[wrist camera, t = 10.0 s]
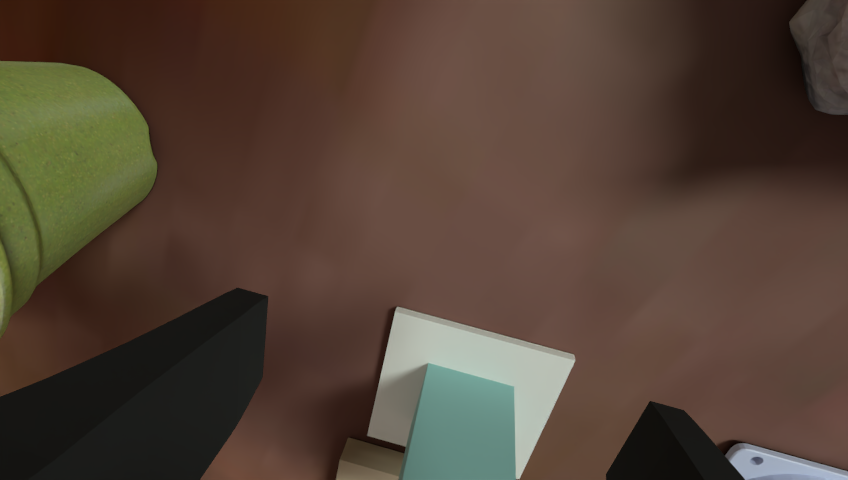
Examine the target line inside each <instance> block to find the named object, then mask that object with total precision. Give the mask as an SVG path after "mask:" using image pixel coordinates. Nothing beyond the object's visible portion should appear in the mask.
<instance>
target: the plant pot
mask: <svg viewBox="0 0 848 480" xmlns="http://www.w3.org/2000/svg"><path fill="white" fill-rule="evenodd" d="M156 174H157V162H156V160H155V158H154V156H153V153H152V149H151V145H150V138H149V128H148V125H147V123H146V121H145V119H144V118H143V116H142V114H141V113H140V111H139V110H138V109H137V107H136V106H135V104H134V103H133V102H132V101H131V100H130V99H129V98H128V97H127V95H126V94H125V93H124V92H123V91H122V90H121V89H119V88H118V87H117V86H116V85H115V84H113V83H112V82H111V81H109V80H108V79H107V78H105V77H103V76H102V75H100V74H98V73H96V72H94V71H92V70H90V69H87V68H84V67H80V66H75V65H69V64H63V63H47V62H13V61H0V338H1V337H2V336H3V334H4V332H5V330H6V328H7V326H8V323H9V321H10V317H11V316H12V315H13V314H14V313H15V312H16V311H18V310H19V309H20V308H21V307H22V306H23V305H24V304H25V303H26V302H27V301H28V300H29V298H30V297H31V295H32V293H33V291H34V290H35V288H36V286H37V285H38V284H40V283H41V282H42V281H43V280H44V279H45V278H47V277H48V276H49V275H50V274H51V273H53V272H54V271H55V270H56V269H57V268H59V267H60V266H61V265H62V264H63V263H65V262H66V261H67V260H68V259H69V258H70V257H72V256H73V255H74V254H75V253H77V252H78V251H79V250H80V249H82V248H83V247H84V246H85V245H86V244H88V243H89V242H90V241H91V240H93V239H94V238H95V237H96V236H98V235H99V234H100V233H101V232H103V231H104V230H105V229H106V228H108V227H109V226H110V225H112V224H113V223H114V222H116V221H117V220H118V219H119V218H121V217H122V216H123V215H124V214H126V213H127V212H128V211H129V210H131V209H132V208H133V207H134V206H136V205H137V204H138V203H140V202H141V201H142V200H143V199H144V198H145V197H146V196H147V195H148V193H149V192H150V190H151V188H152V187H153V184H154V182H155V178H156Z"/></svg>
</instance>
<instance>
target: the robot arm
mask: <svg viewBox="0 0 848 480" xmlns="http://www.w3.org/2000/svg"><path fill="white" fill-rule="evenodd" d="M267 306H268V296H265V295H262V294H258V293H255V292H251V291H247V290H244V289H240V288H236V289H234V290H232V291H229V292H227V293H225V294H223V295H221V296H219V297H217V298H215V299H213V300H211V301H209V302H207V303H205V304H203V305H201V306H200V307H198V308H196V309H194V310H192V311H190V312H188V313H186V314H184V315H182V316H180V317H178V318H176V319H174V320H172V321H170V322H168V323H166V324H164V325H162V326H160V327H158V328H156V329H154V330H152V331H150V332H148V333H146V334H144V335H141V336H139V337H137V338H135V339H133V340H131V341H129V342H127V343H125V344H123V345H121V346H118V347H116V348H114V349H112V350H110V351H107V352H105V353H103V354H101V355H98V356H96V357H94V358H92V359H89V360H87V361H85V362H83V363H80V364H78V365H76V366H74V367H71V368H69V369H67V370H65V371H62V372H60V373H58V374H56V375H53V376H51V377H49V378H46V379H44V380H41V381H39V382H37V383H34V384H32V385H29V386H27V387H24V388H22V389H19V390H17V391H14V392H11V393H9V394H6V395H4V396H1V397H0V480H200V478H201V477H202V476H203V474H204V473H205V471H206V470H207V468H208V467H209V465H210V464H211V463H212V461H213V460H214V458H215V457H216V455H217V454H218V452H219V451H220V449H221V448H222V447H223V445H224V444H225V442H226V441H227V439H228V438H229V436H230V435H231V433H232V432H233V430H234V429H235V427H236V426H237V424H238V422H239V421H240V419H241V417H242V415H243V413H244V411H245V410H246V408H247V406H248V404H249V402H250V400H251V398H252V396H253V395H254V393H255V391H256V389H257V387H258V385H259V383H260V381H261V379H262V377H263V363H264V349H265V335H266V320H267ZM606 480H848V471H845V470H841V469H837V468H834V467H830V466H826V465H823V464H819V463H816V462H812V461H808V460H805V459H801V458H797V457H794V456H790V455H787V454H783V453H779V452H776V451H772V450H768V449H765V448H761V447H758V446H754V445H750V444H746V443H739V444H736V445H734V446H732V447H731V448H730V450H729V451H728V452H727V454H726V455H724V454H723V453H722V452H721V451H720V450H719V448H718V447H717V446H716V445H715V444H714V443H713V442H712V440H711V439H710V438H709V437H708V436H707V435H706V434H705V432H704V431H703V430H702V429H701V428H700V427H699V426H698V425H697V424H696V423H695V421H694V420H693V419H692V418H691V417H690V416H689V415H688V414H687V413H686V412H685V411H684V410H681V409H677V408H674V407H670V406H666V405H663V404H659V403H655V402H652V401H650V402H649V404H648V405H647V407H646V409H645V410H644V412H643V414H642V415H641V417H640V419H639V420H638V422H637V424H636V425H635V427H634V429H633V430H632V432H631V434H630V435H629V437H628V439H627V440H626V442H625V444H624V445H623V447H622V449H621V450H620V452H619V454H618V455H617V457H616V459H615V460H614V462H613V464H612V465H611V467H610V469H609V470H608V472H607V474H606Z"/></svg>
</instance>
